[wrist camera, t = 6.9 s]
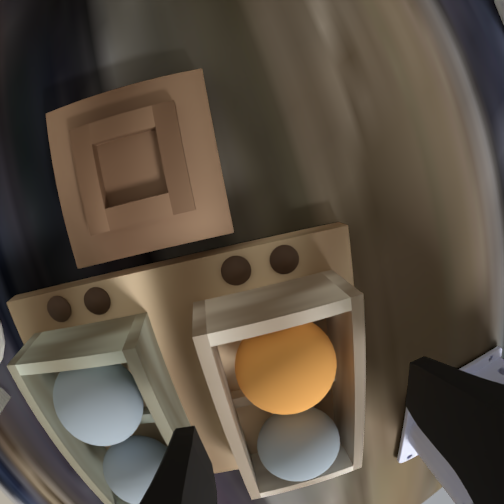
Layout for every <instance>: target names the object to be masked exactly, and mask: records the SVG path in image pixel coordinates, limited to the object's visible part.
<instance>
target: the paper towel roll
mask: <svg viewBox="0 0 504 504" xmlns="http://www.w3.org/2000/svg"><path fill="white" fill-rule="evenodd" d="M4 347H5V339H4V334H3V328H2V323H1V321H0V362H1V361H2V359H3V354H4ZM10 398H11V397H10V396H9V395H8V394H7V393H6V392H5V391H4V390H3V389H2V388H1V387H0V413H1V412H2V410H3V409H4V407H5V405H6V404H7V402H8V401H9V399H10Z"/></svg>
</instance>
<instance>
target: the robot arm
mask: <svg viewBox="0 0 504 504" xmlns="http://www.w3.org/2000/svg"><path fill="white" fill-rule="evenodd" d="M501 353H502V348H501V347H499V346H497V347H495V348H494V349H492V350H490V351H489V352H487V353H486V354H484V355H482V356H481V357H479V358H477V359H476V360H474V361H472V362H470V363H469V364H467V365H465V366H463V367H462V368H460V369H456V368H454V367H451V366H449V365H446V364H444V363H441V362H438V361H436V360H433V359H430V358H427V357H422V358H420V359H417V360H415V361H413V362H410V368H409V378H408V388H407V396H406V404H405V406H406V411H405V418H404V424H403V430H402V436H401V441H400V447H399V452H398V457H397V461H398V462H399V463H403V462H405V461H407V460H409V459H411V458H413V457H415V456H417V455H419V456H420V457H421V459H422V460H423V461H424V463H425V464H426V465H427V467H428V468H429V469H430V471H431V472H432V473H433V475H434V476H435V477H436V479H437V480H438V481H439V483H440V484H441V485H442V486H443V488H444V489H445V490H446V492H447V493H448V494H449V496H450V497H451V498H452V500H453V501H454V502H455V504H504V359H502V358H501ZM139 504H217V490H216V484H215V477H214V472H213V466H212V462H211V460H210V458H209V456H208V454H207V452H206V450H205V447H204V445H203V443H202V441H201V439H200V437H199V434H198V432H197V430H196V428H195V426H188V427H182V428H176V429H175V430H174V431H173V434H172V437H171V439H170V442H169V444H168V447H167V449H166V451H165V454H164V456H163V458H162V461H161V463H160V465H159V467H158V469H157V471H156V473H155V475H154V478H153V480H152V482H151V484H150V485H149V487H148V489H147V491H146V493H145V494H144V496H143V498H142V500H141V501H140V503H139Z"/></svg>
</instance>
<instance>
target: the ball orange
mask: <svg viewBox="0 0 504 504" xmlns="http://www.w3.org/2000/svg"><path fill="white" fill-rule="evenodd" d="M336 368H337V360H336V353H335V350H334V347H333V344H332V343H331V341H330V339H329V337H328V336H327V335H326V333H325V332H324V331H323V330H322V329H321V328H320V327H318V326H317V325H316V324H314V323H313V322H310V323H306V324H303V325H299V326H295V327H291V328H288V329H284V330H280V331H276V332H272V333H268V334H264V335H260V336H256V337H252V338H248V339H243V340H242V341H241V343H240V345H239V347H238V350H237V353H236V358H235V374H236V379H237V382H238V384H239V387H240V389H241V390H242V392H243V394H244V395H245V396H246V397H247V399H248V400H249V401H250V402H252V403H253V404H254V405H255V406H257V407H259V408H260V409H262V410H264V411H267V412H270V413H274V414H280V415H288V414H296V413H300V412H303V411H305V410H308V409H310V408H311V407H313V406H315V405H316V404H317V403H318V402H320V401H321V400H322V399H323V398H324V397H325V395H326V394H327V393H328V391H329V390H330V388H331V386H332V384H333V381H334V379H335V375H336Z"/></svg>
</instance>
